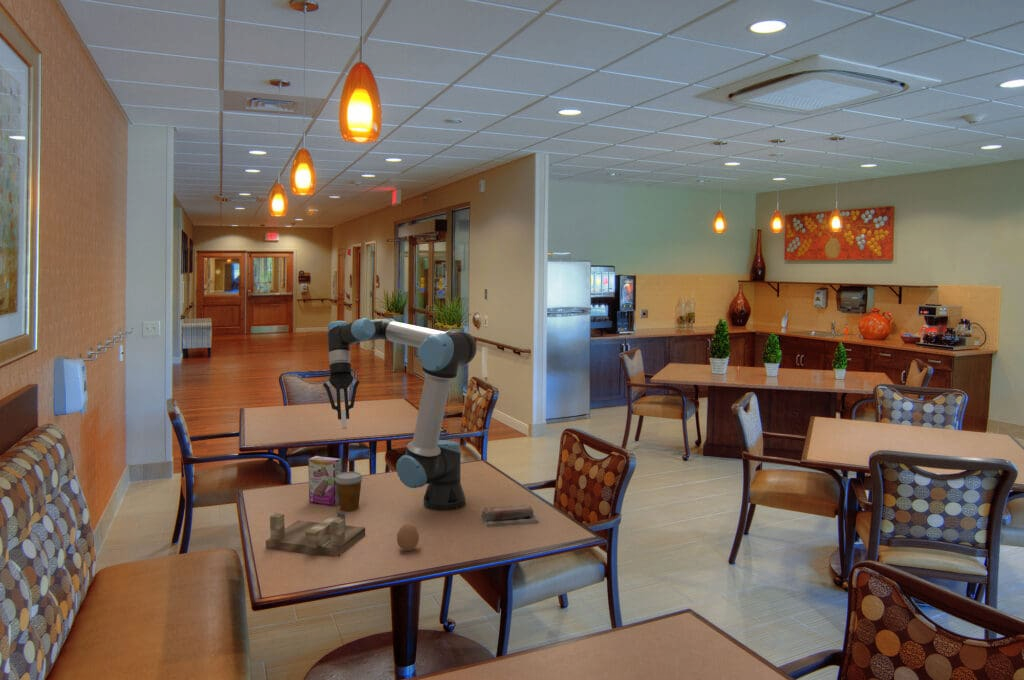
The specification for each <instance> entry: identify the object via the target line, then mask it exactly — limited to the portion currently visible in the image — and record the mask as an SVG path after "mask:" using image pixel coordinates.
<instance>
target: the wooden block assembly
mask: <svg viewBox="0 0 1024 680" xmlns="http://www.w3.org/2000/svg"><path fill="white" fill-rule="evenodd" d="M336 517H342V519H334V520H333V521H331V522H330V525H331V539H329V540H328V541H326V542H325V543H323V544H321V545H320V546H318V547H317V548H313V547H307V546H306V536H305V532H306V531H307V530H309V529H311V528H313V527H314V526H316V525H318V524H320V523H321V522H317V521H309V520H308V521H307V520H297V521H295V522H293V523H292V524H290V525H288V526H287V527H286V526H285V513H280V512H278V513H277V512H275V513H273V514H272V515H270V516H269V529H270V531H269V533H270V534H269V535H270V537H269V538H268V539H266V540H265V549H267V550H275V551H276V550H277V551H282V550H284V552H291V551H292V552H293V553H302V554H309V555H317V556H326V555H328V556H327V557H334V556H338V557H340V556H341V555H342V554H343V553H345V552H346V551H347V550H349V549H350V548H351V547H352V546H353V545H354V544H356V543H357V542H358V541H360V540H361V539H362V538H364V537H365V536H366V527H365V526H354V525H346V511H338V512H337V513H336ZM349 547H350V548H349ZM345 550H346V551H345ZM344 551H345V552H344ZM292 552H291V553H292ZM341 553H342V554H341ZM340 554H341V555H340ZM339 555H340V556H339Z"/></svg>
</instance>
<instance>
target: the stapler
mask: <svg viewBox="0 0 1024 680" xmlns="http://www.w3.org/2000/svg"><path fill="white" fill-rule="evenodd" d="M481 518H482V521H483V523H484V525H485V527H501V526H502V527H503V526H512V525H513V526H515V525H516V526H517V525H528V524H538V523H539V518H538V517H537V516H536V515H535V514H534V509H533V507H532V506H531V505H528V504H526V505H525V504H524V505H522V504H521V505H504V506H503V505H502V506H501V505H500V506H487V507H484V508H483V511H481Z"/></svg>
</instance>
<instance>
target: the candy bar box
mask: <svg viewBox="0 0 1024 680" xmlns="http://www.w3.org/2000/svg"><path fill="white" fill-rule="evenodd" d="M307 462H308V463H307V464H308V465H307V466H308V497H309V498H308V501H309V502H308V503H312V504H317V505H318V504H319V505H326V506H332V507H336V506H338V505H340V503H339V496H338V489H337V483H336V481H335V478H336V476H337V474H339V473H343V472H342V459H341V458H338V457H337V458H336V457H330V456H329V457H327V456H319V455H314V456H312V457H310V458H308V461H307ZM337 504H338V505H337ZM335 505H336V506H335Z"/></svg>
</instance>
